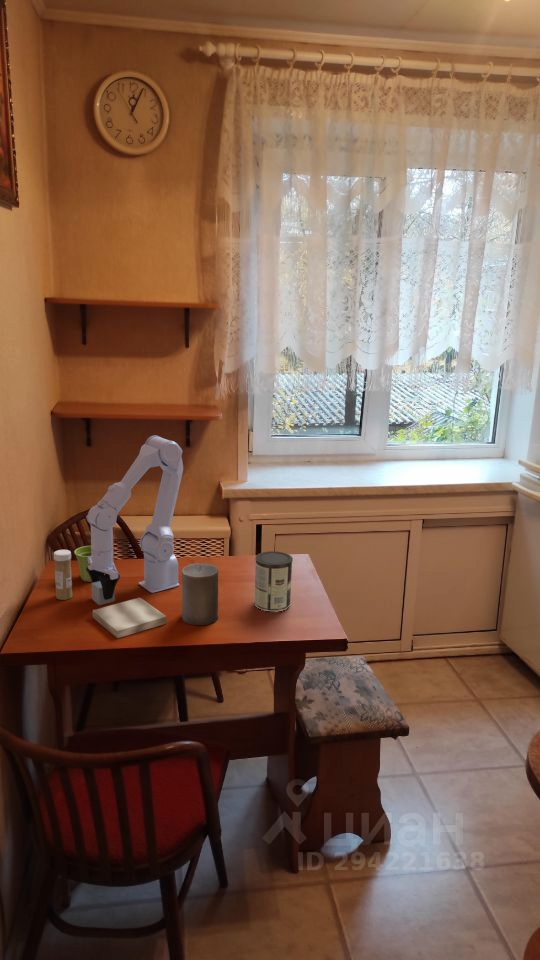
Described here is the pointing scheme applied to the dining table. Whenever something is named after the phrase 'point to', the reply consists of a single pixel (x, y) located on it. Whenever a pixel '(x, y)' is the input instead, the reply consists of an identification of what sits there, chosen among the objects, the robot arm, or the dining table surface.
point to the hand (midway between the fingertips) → (103, 594)
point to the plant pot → (83, 561)
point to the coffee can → (273, 581)
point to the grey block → (100, 594)
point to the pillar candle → (200, 594)
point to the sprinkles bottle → (63, 574)
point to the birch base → (129, 617)
